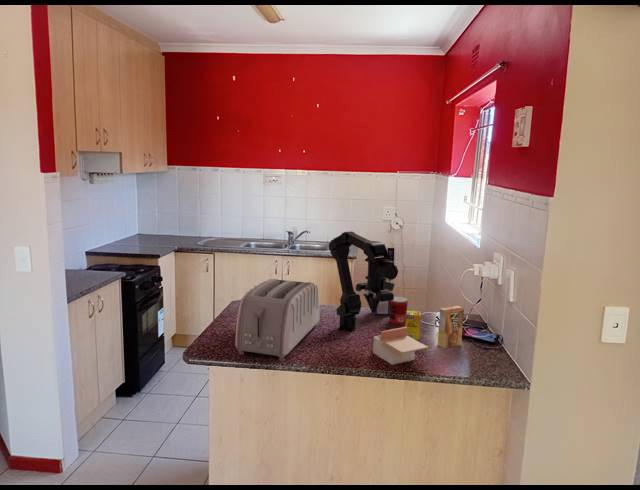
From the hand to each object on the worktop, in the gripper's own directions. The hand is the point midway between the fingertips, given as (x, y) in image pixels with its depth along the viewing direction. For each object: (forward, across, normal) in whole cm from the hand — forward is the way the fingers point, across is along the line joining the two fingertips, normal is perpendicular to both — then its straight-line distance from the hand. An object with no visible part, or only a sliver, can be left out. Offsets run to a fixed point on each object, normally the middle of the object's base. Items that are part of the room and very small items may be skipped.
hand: (373, 312), depth 188 cm
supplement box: (+12, -4, -17) cm, 21 cm away
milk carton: (+12, +28, -24) cm, 39 cm away
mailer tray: (+12, -16, +1) cm, 20 cm away
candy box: (+12, -16, -26) cm, 33 cm away
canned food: (+12, +14, -23) cm, 30 cm away
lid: (+7, -22, +1) cm, 23 cm away
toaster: (+12, +17, +33) cm, 39 cm away
